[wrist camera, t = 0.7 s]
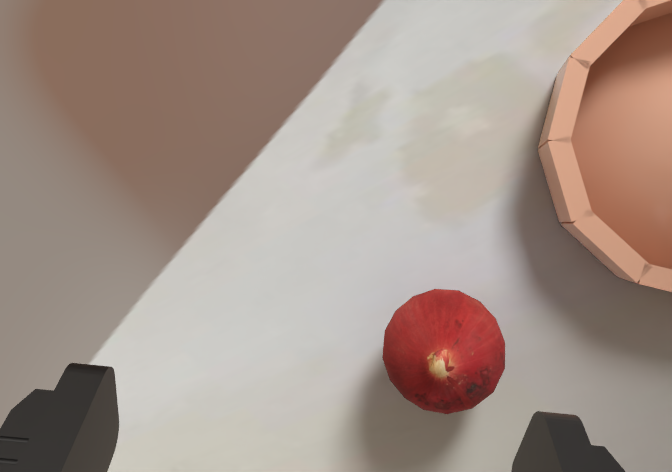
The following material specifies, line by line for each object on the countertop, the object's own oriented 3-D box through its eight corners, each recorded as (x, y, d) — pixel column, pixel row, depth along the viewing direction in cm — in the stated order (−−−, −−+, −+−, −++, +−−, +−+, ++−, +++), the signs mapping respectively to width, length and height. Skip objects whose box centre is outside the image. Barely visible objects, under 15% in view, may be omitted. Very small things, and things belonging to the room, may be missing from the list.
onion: (522, 345, 34) (544, 381, 26) (439, 412, 35) (435, 467, 27) (449, 261, 34) (448, 272, 27) (368, 329, 35) (345, 359, 27)
